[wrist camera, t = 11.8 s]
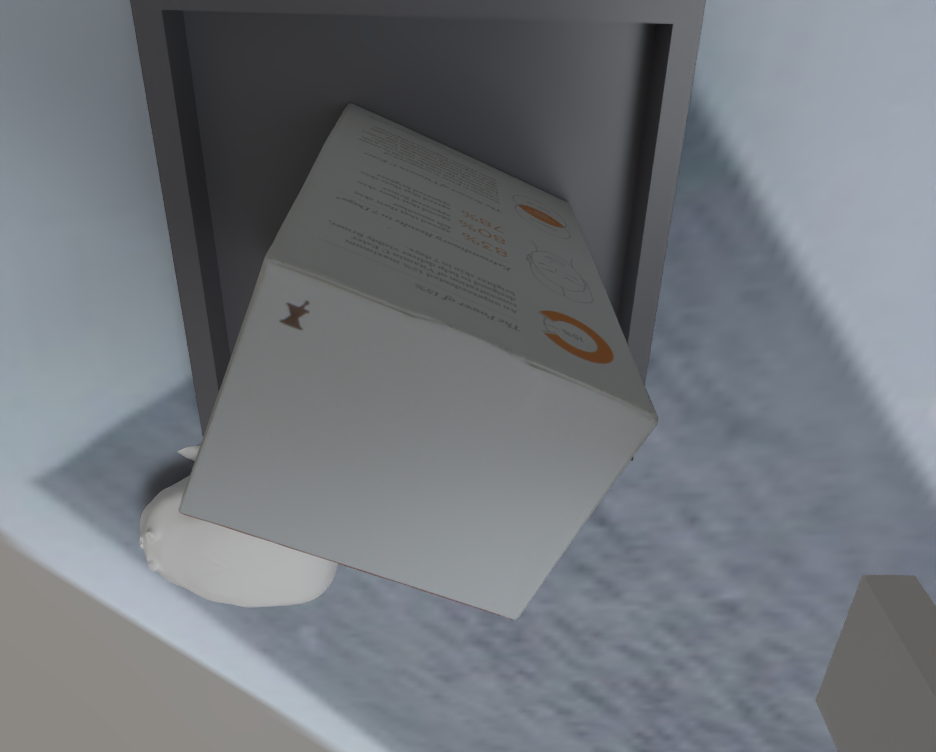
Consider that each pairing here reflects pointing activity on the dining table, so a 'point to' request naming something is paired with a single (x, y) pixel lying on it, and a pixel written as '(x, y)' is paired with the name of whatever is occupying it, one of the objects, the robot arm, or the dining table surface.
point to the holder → (412, 125)
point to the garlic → (226, 557)
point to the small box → (422, 376)
